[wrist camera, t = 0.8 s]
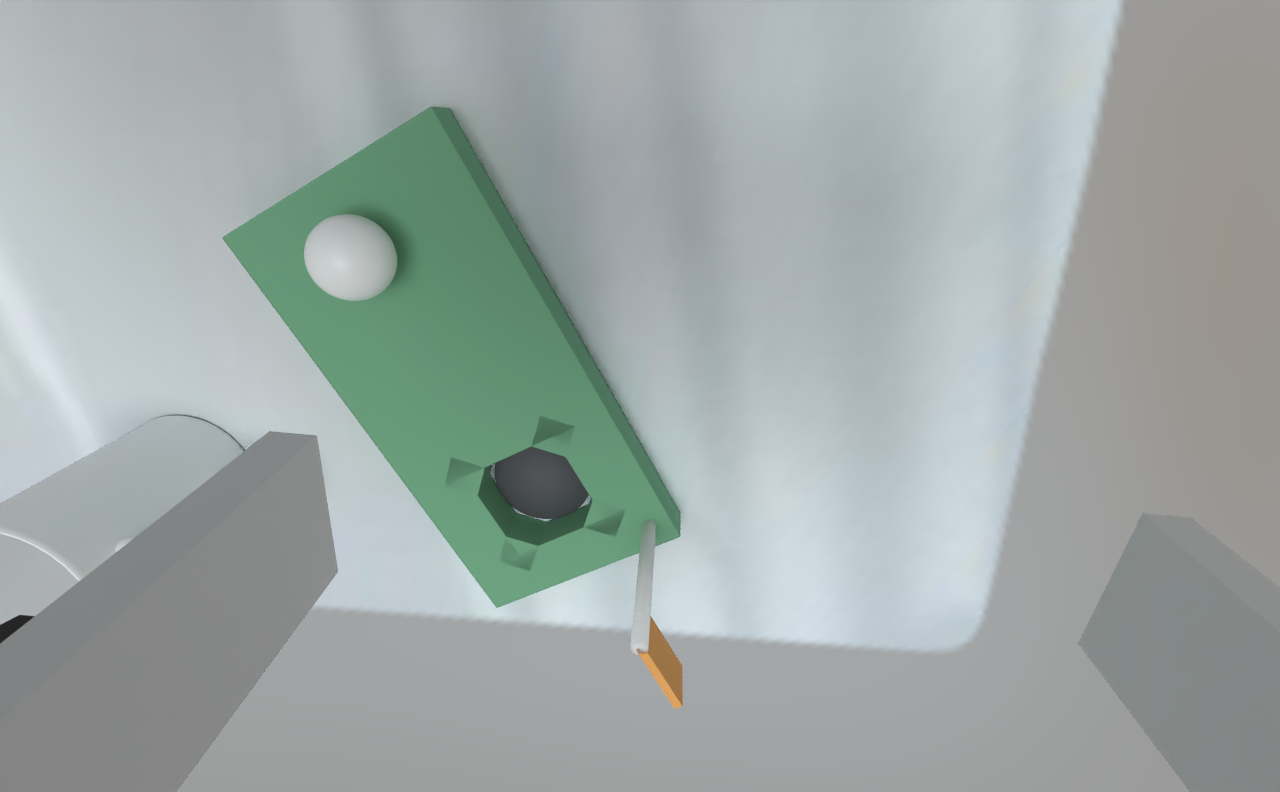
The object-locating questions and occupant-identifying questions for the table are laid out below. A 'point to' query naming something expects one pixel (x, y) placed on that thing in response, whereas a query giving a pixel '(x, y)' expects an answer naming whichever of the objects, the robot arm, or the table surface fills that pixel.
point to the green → (472, 374)
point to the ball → (350, 257)
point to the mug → (101, 507)
